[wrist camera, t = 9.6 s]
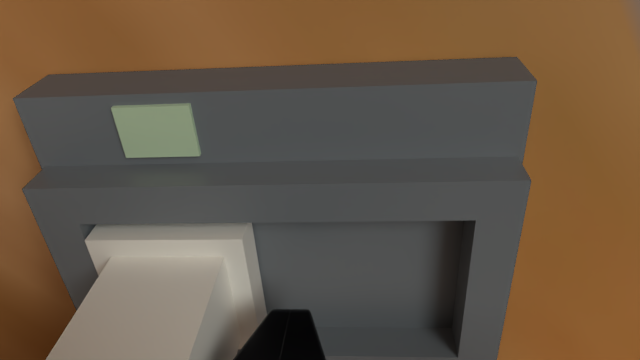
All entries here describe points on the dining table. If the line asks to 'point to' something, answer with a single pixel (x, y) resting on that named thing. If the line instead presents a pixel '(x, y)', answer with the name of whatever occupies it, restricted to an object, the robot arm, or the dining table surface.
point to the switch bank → (308, 186)
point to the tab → (167, 294)
